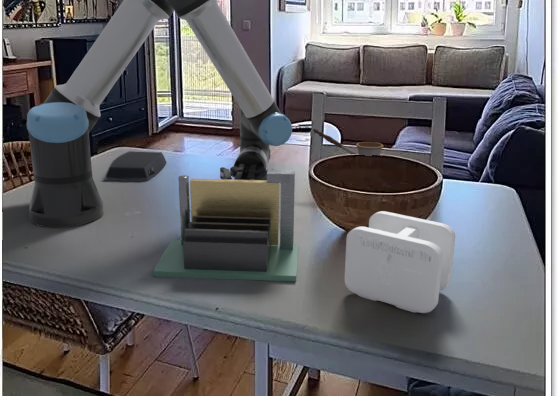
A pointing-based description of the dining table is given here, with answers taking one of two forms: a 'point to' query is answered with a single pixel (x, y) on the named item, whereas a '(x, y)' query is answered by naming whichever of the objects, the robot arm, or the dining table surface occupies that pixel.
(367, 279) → the cable organizer
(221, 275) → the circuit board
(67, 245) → the dining table surface
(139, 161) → the external hard drive
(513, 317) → the dining table surface
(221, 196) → the brass plate
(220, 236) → the grey slotted rack
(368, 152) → the coffee pot
